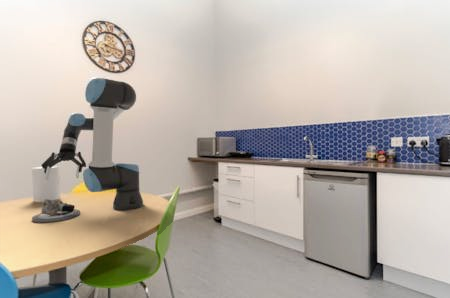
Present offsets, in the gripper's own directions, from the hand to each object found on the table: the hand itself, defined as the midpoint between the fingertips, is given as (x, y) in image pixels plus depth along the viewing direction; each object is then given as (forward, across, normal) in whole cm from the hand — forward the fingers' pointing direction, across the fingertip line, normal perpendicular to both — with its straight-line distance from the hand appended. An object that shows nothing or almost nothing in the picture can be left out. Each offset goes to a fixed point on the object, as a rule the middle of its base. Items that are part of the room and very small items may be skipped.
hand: (62, 177), depth 131 cm
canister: (-12, +17, -37) cm, 42 cm away
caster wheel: (+18, -1, -5) cm, 18 cm away
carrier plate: (+20, 0, -5) cm, 20 cm away
